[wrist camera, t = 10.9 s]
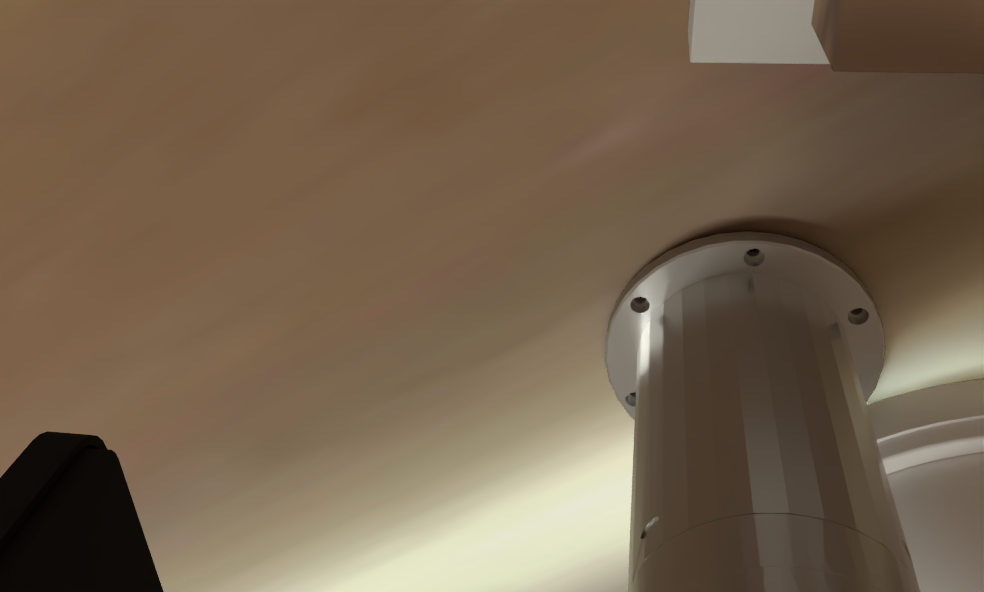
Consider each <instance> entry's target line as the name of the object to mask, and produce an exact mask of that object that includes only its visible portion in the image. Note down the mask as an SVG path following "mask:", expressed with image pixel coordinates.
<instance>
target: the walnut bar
mask: <svg viewBox="0 0 984 592" xmlns="http://www.w3.org/2000/svg"><path fill="white" fill-rule="evenodd" d="M811 24H812V27H813V29H814V31H815V33H816V35H817V37H818V40H819V42H820V44H821V46H822V48H823V50H824V52H825V55H826V57H827V59H828V61H829V63H830V65H831V67H832V70H833V71H837V72H910V73H982V74H984V0H815V1H814V8H813V15H812V22H811Z"/></svg>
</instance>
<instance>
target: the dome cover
mask: <svg viewBox="0 0 984 592" xmlns="http://www.w3.org/2000/svg"><path fill="white" fill-rule="evenodd" d="M867 409H868V412H869V416H870V419H871V423H872V426H873V430H874V433H875V437H876V440H877V444H878V447H879V450H880V454H881V457H882V461H883V464H884V468H885V471H886V475H887V478H888V482H889V485H890V488H891V492H892V495H893V499H894V502H895V505H896V509H897V512H898V516H899V519H900V522H901V526H902V529H903V532H904V536H905V539H906V543H907V546H908V549H909V553H910V556H911V559H912V563H913V567H914V570H915V574H916V578H917V581H918V585H919V589H920V591H921V592H984V379H978V380H971V381H964V382H957V383H950V384H944V385H939V386H935V387H930V388H925V389H921V390H916V391H912V392H908V393H905V394H901V395H898V396H894V397H891V398H887V399H884V400H881V401H878V402H876V403H873V404H870V405H867Z"/></svg>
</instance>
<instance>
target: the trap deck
mask: <svg viewBox="0 0 984 592" xmlns="http://www.w3.org/2000/svg"><path fill="white" fill-rule="evenodd" d="M814 1H815V0H690V10H689V23H688V37H689V51H690V62H708V63H786V64H830V63H829V61H828V59H827V57H826V55H825V52H824V50H823V48H822V46H821V44H820V42H819V40H818V37H817V35H816V33H815V31H814V29H813V27H812V24H811V22H812V15H813V8H814Z"/></svg>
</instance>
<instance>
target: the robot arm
mask: <svg viewBox="0 0 984 592" xmlns="http://www.w3.org/2000/svg"><path fill="white" fill-rule="evenodd" d="M750 249H757V250H756V251H753V252H751V251H749V250H750ZM637 297H643V298H637ZM884 351H885V342H884V335H883V328H882V323H881V320H880V317H879V314H878V311H877V309H876V306H875V303H874V301H873V300H872V298H871V296H870V294H869V293H868V291H867V289H866V287H865V285H864V284H863V283H862V282H861V280H860V279H859V278H858V277H857V276H856V275H855V274H854V273H853V272H852V271H851V270H850V268H849V267H848V266H846V265H845V264H844V263H842V262H841V261H839V260H838V259H837V258H835V257H834V256H832V255H831V254H830V253H828V252H827V251H825V250H822V249H820V248H818V247H816V246H814V245H811V244H809V243H807V242H805V241H803V240H799V239H795V238H791V237H787V236H783V235H779V234H774V233H762V232H750V231H746V232H733V233H721V234H716V235H712V236H708V237H704V238H700V239H696V240H692V241H690V242H688V243H685V244H683V245H681V246H679V247H676V248H674V249H672V250H669V251H667V252H666V253H664V254H663V255H661V256H660V257H658V258H657V259H655V260H654V261H652V262H651V263H649V264H648V265H646V266H645V267H644V268H643V269H642V270H641V271H640V272H639V273H638V274H637V275H636V276H635V277H634V278H633V279H632V280H631V281H630V282H629V283H628V285H627V286H626V288H625V289H624V291H623V292H622V294H621V295H620V297H619V298H618V300H617V301H616V304H615V306H614V309H613V311H612V314H611V316H610V319H609V323H608V329H607V336H606V347H605V363H606V368H607V373H608V378H609V382H610V384H611V386H612V388H613V390H614V393H615V395H616V397H617V399H618V401H619V402H620V403H621V405H622V406H623V407H624V409H625V410H626V411H627V413H628V414H629V416H630V417H631V418H633V419H634V420H635V428H634V452H633V476H632V500H631V524H630V548H629V572H628V592H921V591H920V589H919V585H918V581H917V578H916V574H915V570H914V567H913V563H912V559H911V556H910V553H909V549H908V546H907V543H906V539H905V536H904V532H903V529H902V526H901V522H900V519H899V516H898V512H897V509H896V505H895V502H894V499H893V495H892V492H891V488H890V485H889V482H888V478H887V475H886V471H885V468H884V464H883V461H882V457H881V454H880V450H879V447H878V444H877V440H876V437H875V433H874V430H873V426H872V423H871V419H870V416H869V412H868V409H867V406H866V402H867V400H868V399H869V397H870V396H871V394H872V392H873V391H874V389H875V388H876V385H877V382H878V379H879V376H880V374H881V371H882V368H883V361H884ZM0 592H163V589H162V586H161V583H160V580H159V577H158V574H157V571H156V569H155V566H154V563H153V560H152V557H151V554H150V551H149V548H148V545H147V542H146V539H145V536H144V533H143V530H142V527H141V524H140V521H139V518H138V515H137V512H136V509H135V506H134V503H133V500H132V497H131V495H130V492H129V489H128V486H127V483H126V480H125V477H124V474H123V471H122V468H121V465H120V462H119V459H118V457H117V455H116V453H115V452H113V451H112V450H107V448H106V446H105V444H104V442H103V440H101V439H100V438H99V437H98V436H94V435H83V434H71V433H59V432H45V433H42V434H40V435H38V436H37V437H36V438H35V439H34V440H33V441H32V442H31V443H30V444H29V445H28V447H27V448H26V449H25V450H24V451H23V452H22V453H21V455H20V456H19V457H18V458H17V459H16V460H15V462H14V463H13V464H12V465H11V466H10V467H9V469H8V470H7V471H6V472H5V473H4V474H3V475H2V477H1V478H0Z"/></svg>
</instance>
